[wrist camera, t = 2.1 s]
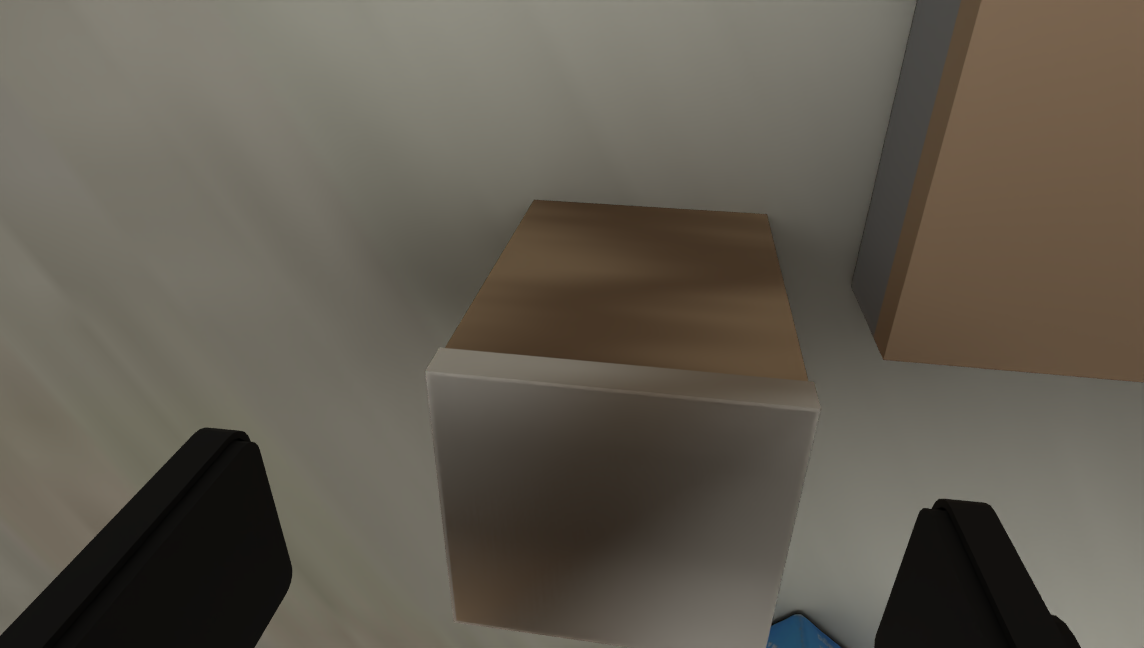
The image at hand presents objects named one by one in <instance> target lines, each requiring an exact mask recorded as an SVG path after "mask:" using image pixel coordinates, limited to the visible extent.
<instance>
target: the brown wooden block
mask: <svg viewBox="0 0 1144 648" xmlns="http://www.w3.org/2000/svg"><path fill="white" fill-rule="evenodd" d="M425 374H426V383H427V392H428V400H429V409H430V418H431V427H432V435H433V444H434V453H435V462H436V470H437V479H438V488H439V497H440V505H441V514H442V523H443V532H444V540H445V549H446V558H447V567H448V575H449V584H450V593H451V602H452V610H453V619H454V622H456V623H463V624H470V625H477V626H484V627H491V628H498V629H505V630H511V631H518V632H525V633H532V634H539V635H546V636H553V637H560V638H567V639H574V640H581V641H588V642H595V643H602V644H609V645H616V646H623V647H629V648H766V645H767V641H768V637H769V632H770V628H771V624H772V619H773V615H774V611H775V606H776V602H777V598H778V593H779V589H780V585H781V580H782V576H783V572H784V567H785V563H786V559H787V554H788V550H789V546H790V541H791V537H792V532H793V528H794V524H795V519H796V515H797V511H798V506H799V502H800V498H801V493H802V489H803V485H804V480H805V476H806V472H807V467H808V463H809V459H810V454H811V450H812V446H813V441H814V437H815V433H816V428H817V424H818V420H819V415H820V411H821V407H820V403H819V399H818V396H817V392H816V388H815V384H814V382H811V381H808V377H807V373H806V369H805V365H804V361H803V357H802V353H801V349H800V345H799V341H798V337H797V333H796V329H795V325H794V321H793V317H792V313H791V309H790V305H789V301H788V297H787V293H786V289H785V285H784V281H783V277H782V273H781V269H780V265H779V261H778V257H777V253H776V249H775V245H774V241H773V237H772V233H771V229H770V225H769V221H768V217H767V214H755V213H739V212H723V211H707V210H690V209H674V208H658V207H642V206H626V205H609V204H593V203H577V202H561V201H545V200H534V201H533V202H532V204H531V206H530V207H529V209H528V211H527V212H526V214H525V216H524V217H523V219H522V221H521V222H520V224H519V226H518V227H517V229H516V231H515V232H514V234H513V236H512V237H511V239H510V241H509V242H508V244H507V246H506V247H505V249H504V251H503V252H502V254H501V256H500V257H499V259H498V261H497V262H496V264H495V266H494V267H493V269H492V271H491V272H490V274H489V275H488V277H487V279H486V280H485V282H484V284H483V285H482V287H481V289H480V290H479V292H478V294H477V295H476V297H475V299H474V300H473V302H472V304H471V305H470V307H469V309H468V310H467V312H466V314H465V315H464V317H463V319H462V320H461V322H460V324H459V325H458V327H457V329H456V330H455V332H454V334H453V335H452V337H451V339H450V340H449V342H448V344H447V345H446V347H445V348H439V349H438V351H437V352H436V354H435V356H434V357H433V359H432V360H431V362H430V364H429V365H428V367H427V369H426V370H425Z"/></svg>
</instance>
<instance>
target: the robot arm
mask: <svg viewBox="0 0 1144 648" xmlns="http://www.w3.org/2000/svg"><path fill="white" fill-rule="evenodd" d="M291 579H292V565H291V561H290V558H289V554H288V550H287V547H286V543H285V540H284V536H283V532H282V529H281V525H280V522H279V518H278V514H277V511H276V507H275V503H274V500H273V496H272V493H271V489H270V485H269V482H268V478H267V474H266V471H265V467H264V464H263V460H262V456H261V453H260V449H259V447H258V445H257V444H256V443H254V442H251V441H250V439H249V436H248V435H247V434H246V433H245V432H243V431H236V430H226V429H216V428H202V429H200V430H198V431H197V432H196V433H194V434H193V435H192V436H191V437H190V439H189V440H188V441H187V442H186V443H185V444H184V445H183V446H182V447H181V448H180V449H179V450H178V451H177V452H176V453H175V454H174V455H173V456H172V457H171V458H170V459H169V460H168V461H167V463H166V464H165V465H164V466H163V467H162V468H161V469H160V470H159V471H158V472H157V473H156V474H155V475H154V476H153V477H152V478H151V479H150V480H149V481H148V482H147V483H146V484H145V485H144V486H143V488H142V489H141V490H140V491H139V492H138V493H137V494H136V495H135V496H134V497H133V498H132V499H131V500H130V501H129V502H128V503H127V504H126V505H125V506H124V507H123V508H122V509H121V510H120V512H119V513H118V514H117V515H116V516H115V517H114V518H113V519H112V520H111V521H110V522H109V523H108V524H107V525H106V526H105V527H104V528H103V529H102V530H101V531H100V532H99V533H98V534H97V535H96V537H95V538H94V539H93V540H92V541H91V542H90V543H89V544H88V545H87V546H86V547H85V548H84V549H83V550H82V551H81V552H80V553H79V554H78V555H77V556H76V557H75V558H74V559H73V561H72V562H71V563H70V564H69V565H68V566H67V567H66V568H65V569H64V570H63V571H62V572H61V573H60V574H59V575H58V576H57V577H56V578H55V579H54V580H53V581H52V582H51V583H50V584H49V586H48V587H47V588H46V589H45V590H44V591H43V592H42V593H41V594H40V595H39V596H38V597H37V598H36V599H35V600H34V601H33V602H32V603H31V604H30V605H29V606H28V607H27V608H26V610H25V611H24V612H23V613H22V614H21V615H20V616H19V617H18V618H17V619H16V620H15V621H14V622H13V623H12V624H11V625H10V626H9V627H8V628H7V629H6V630H5V631H4V632H3V633H2V635H1V636H0V648H254V647H255V646H256V644H257V642H258V641H259V639H260V637H261V636H262V634H263V632H264V630H265V629H266V627H267V625H268V624H269V622H270V620H271V619H272V617H273V615H274V614H275V612H276V610H277V608H278V607H279V605H280V603H281V602H282V600H283V598H284V597H285V595H286V593H287V591H288V589H289V586H290V583H291ZM874 648H1081V647H1080V645H1079V643H1078V642H1077V640H1076V638H1075V636H1074V635H1073V633H1072V632H1071V631H1070V629H1069V628H1068V626H1067V625H1066V623H1064V622H1063V621H1062V620H1061V619H1059V618H1058V617H1057V616H1054V615H1051V614H1050V613H1049V611H1048V609H1047V607H1046V605H1045V603H1044V601H1043V600H1042V598H1041V596H1040V594H1039V592H1038V590H1037V588H1036V587H1035V585H1034V583H1033V581H1032V579H1031V577H1030V576H1029V574H1028V572H1027V570H1026V568H1025V566H1024V564H1023V563H1022V561H1021V559H1020V557H1019V555H1018V553H1017V551H1016V550H1015V548H1014V546H1013V544H1012V542H1011V540H1010V539H1009V537H1008V535H1007V533H1006V531H1005V529H1004V527H1003V526H1002V524H1001V522H1000V520H999V518H998V516H997V514H996V513H995V511H994V510H993V508H992V507H991V506H990V505H988V504H987V503H982V502H971V501H961V500H951V499H938V500H937V501H936V502H935V504H934V506H933V507H932V509H928V508H923V509H922V510H921V511H920V512H919V514H918V517H917V520H916V523H915V526H914V528H913V531H912V534H911V537H910V540H909V543H908V546H907V548H906V551H905V554H904V557H903V560H902V563H901V566H900V568H899V571H898V574H897V577H896V580H895V583H894V585H893V588H892V591H891V594H890V597H889V600H888V603H887V605H886V608H885V611H884V614H883V617H882V620H881V623H880V625H879V628H878V631H877V634H876V638H875V646H874Z"/></svg>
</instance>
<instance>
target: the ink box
mask: <svg viewBox="0 0 1144 648" xmlns="http://www.w3.org/2000/svg"><path fill="white" fill-rule="evenodd" d="M766 648H841V647H840V646H839V645H838V644H836V643H835V642H834V641H833V640H831V639H830V638H829V637H828V636H826V635H825V634H824V633H823V632H821V631H820V630H819V629H818V628H817V627H816V626H815V625H813V624H812V623H811V622H810V621H809V620H808V619H806V618H805V617H804V616H803V615H800V614H795V615H792V616H790V617H789V618H787V619H785V620H783V621H781V622H778V623H776V624H774V625H772V626H771V628H770V632H769V637H768V641H767V645H766Z"/></svg>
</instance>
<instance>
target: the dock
mask: <svg viewBox="0 0 1144 648" xmlns="http://www.w3.org/2000/svg"><path fill="white" fill-rule="evenodd" d="M851 287H852V289H853V292H854V294H855V296H856V298H857V301H858V303H859V305H860V308H861V310H862V312H863V314H864V317H865V319H866V321H867V324H868V326H869V328H870V331H871V333H872V335H873V337H874V340H875V342H876V344H877V347H878V349H879V351H880V353H881V356H882V358H883V360H891V361H903V362H914V363H926V364H937V365H949V366H961V367H972V368H984V369H995V370H1007V371H1018V372H1030V373H1042V374H1053V375H1065V376H1076V377H1088V378H1099V379H1111V380H1123V381H1134V382H1144V0H918V1H917V5H916V9H915V13H914V18H913V22H912V26H911V31H910V35H909V39H908V44H907V48H906V52H905V57H904V61H903V65H902V70H901V74H900V78H899V83H898V87H897V91H896V95H895V100H894V104H893V108H892V113H891V117H890V121H889V126H888V130H887V134H886V139H885V143H884V147H883V152H882V156H881V160H880V164H879V169H878V173H877V177H876V182H875V186H874V190H873V195H872V199H871V203H870V208H869V212H868V216H867V221H866V225H865V229H864V234H863V238H862V242H861V246H860V251H859V255H858V259H857V264H856V268H855V272H854V277H853V281H852V285H851Z"/></svg>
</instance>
